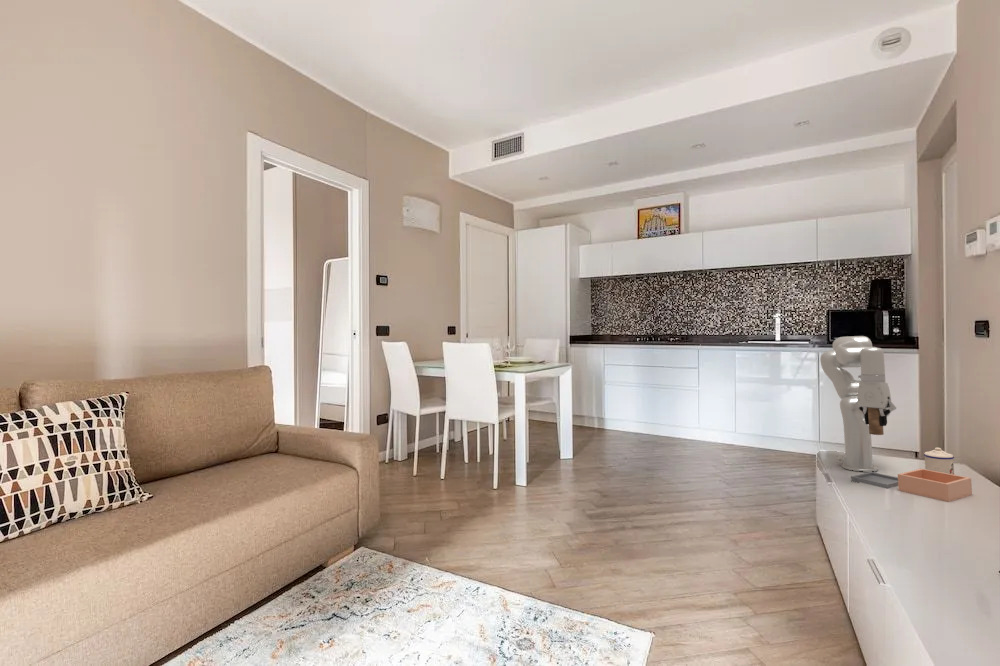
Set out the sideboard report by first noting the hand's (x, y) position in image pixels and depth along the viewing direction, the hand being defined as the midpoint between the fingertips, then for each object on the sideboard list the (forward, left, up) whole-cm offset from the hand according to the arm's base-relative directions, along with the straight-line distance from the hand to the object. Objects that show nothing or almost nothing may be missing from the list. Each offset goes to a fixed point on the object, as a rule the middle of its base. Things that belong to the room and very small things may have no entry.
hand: (875, 424), depth 190 cm
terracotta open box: (+17, +2, -23) cm, 29 cm away
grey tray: (0, 0, -23) cm, 23 cm away
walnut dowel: (0, 0, -4) cm, 4 cm away
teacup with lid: (+6, +29, -23) cm, 38 cm away
